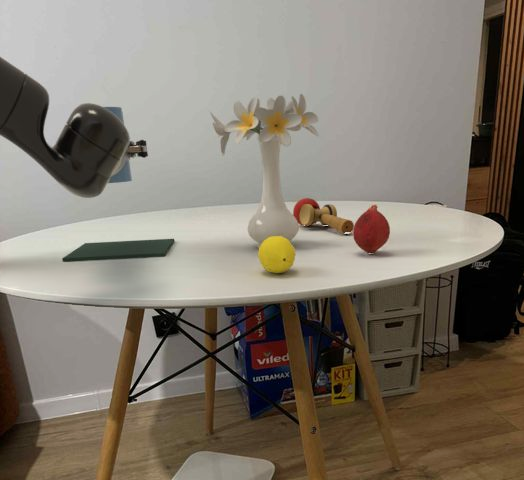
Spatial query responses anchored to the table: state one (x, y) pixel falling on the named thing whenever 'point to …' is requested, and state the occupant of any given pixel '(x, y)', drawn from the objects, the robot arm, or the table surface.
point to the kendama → (320, 215)
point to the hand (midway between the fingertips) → (108, 150)
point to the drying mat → (120, 250)
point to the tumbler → (125, 172)
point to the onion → (371, 230)
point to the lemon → (276, 254)
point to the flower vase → (269, 157)
